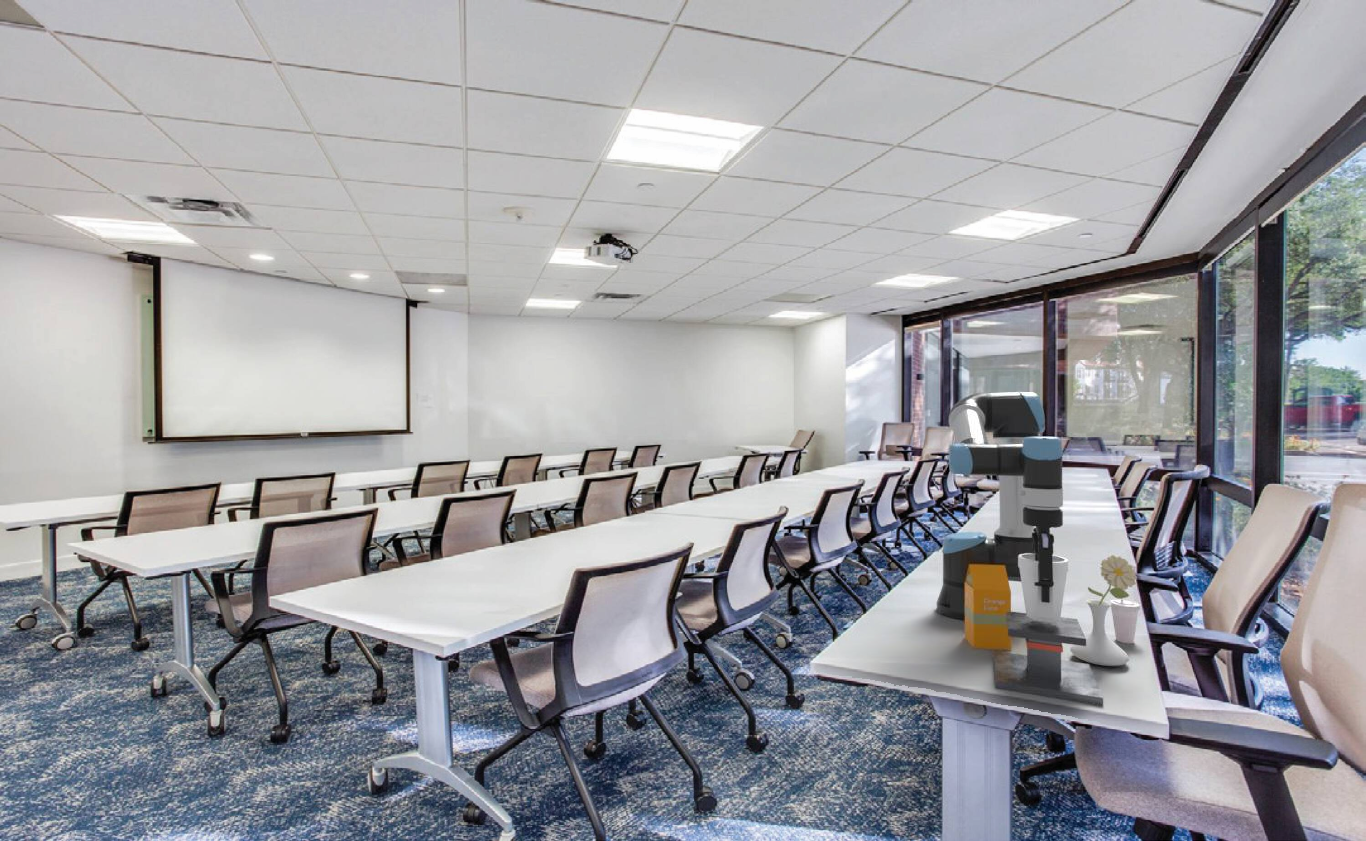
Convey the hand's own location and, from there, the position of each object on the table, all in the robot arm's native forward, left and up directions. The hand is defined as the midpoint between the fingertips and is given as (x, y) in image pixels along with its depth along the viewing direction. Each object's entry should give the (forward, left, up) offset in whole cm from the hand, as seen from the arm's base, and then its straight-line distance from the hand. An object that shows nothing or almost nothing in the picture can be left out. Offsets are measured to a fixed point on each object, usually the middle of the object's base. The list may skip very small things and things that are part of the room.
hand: (1043, 610), depth 135 cm
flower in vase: (-17, +13, -15) cm, 27 cm away
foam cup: (0, 0, -2) cm, 2 cm away
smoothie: (-36, +21, -15) cm, 44 cm away
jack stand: (0, 0, -15) cm, 15 cm away
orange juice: (-19, -11, -15) cm, 27 cm away
